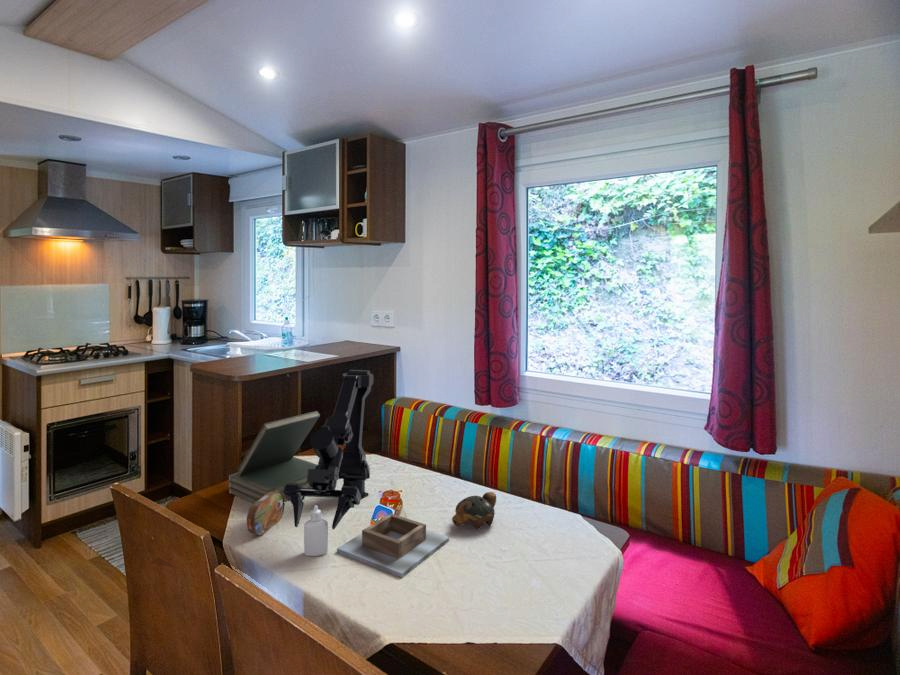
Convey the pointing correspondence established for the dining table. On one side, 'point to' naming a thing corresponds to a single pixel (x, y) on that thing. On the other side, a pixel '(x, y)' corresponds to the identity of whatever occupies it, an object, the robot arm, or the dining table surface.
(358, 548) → the box
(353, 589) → the dining table surface
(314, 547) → the eye dropper bottle
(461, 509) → the decorative turtle
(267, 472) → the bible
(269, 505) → the tin
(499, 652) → the dining table surface
